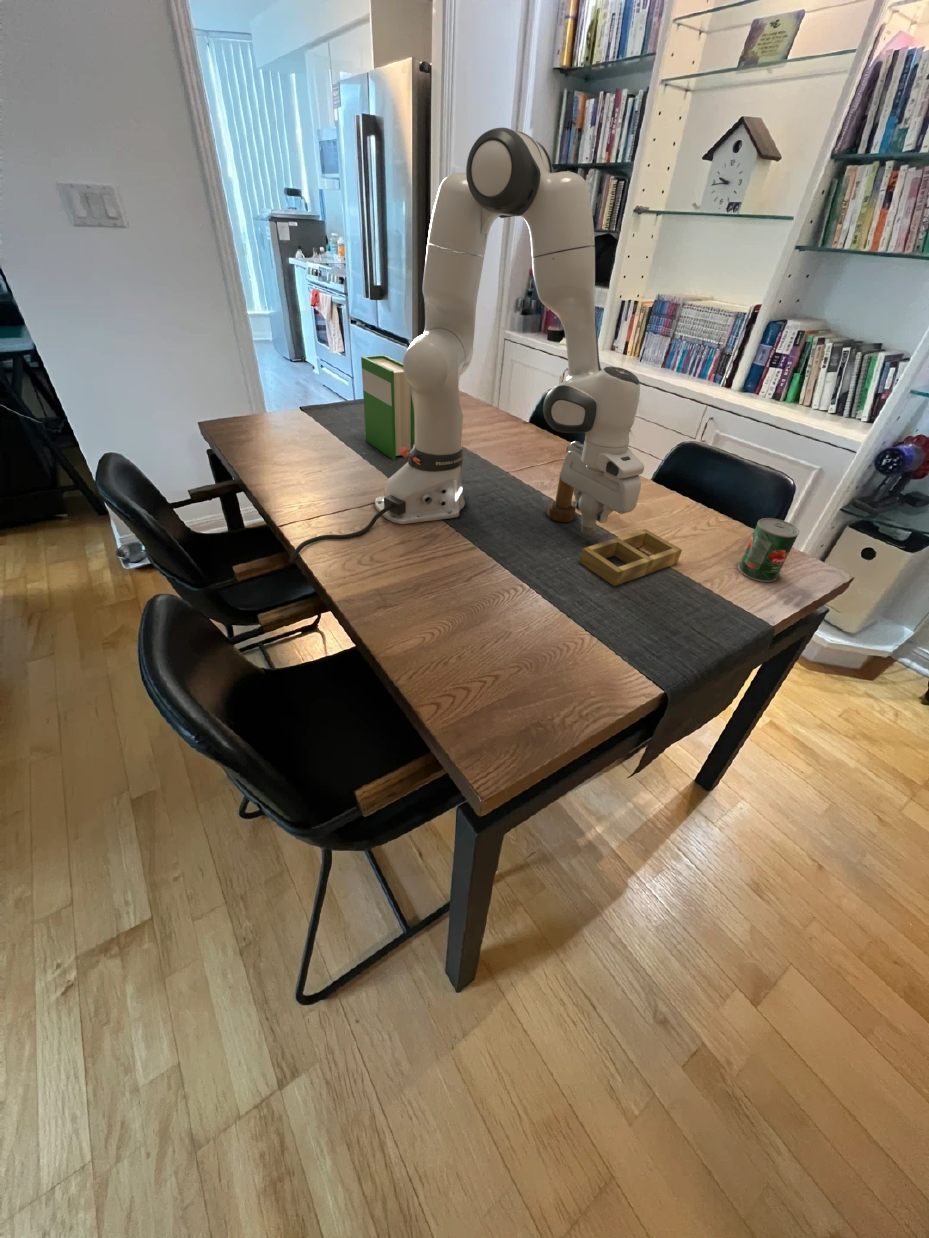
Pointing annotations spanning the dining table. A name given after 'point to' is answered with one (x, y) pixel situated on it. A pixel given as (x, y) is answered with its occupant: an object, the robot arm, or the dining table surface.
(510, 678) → the dining table surface
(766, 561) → the canned tomato
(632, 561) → the rack
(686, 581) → the dining table surface
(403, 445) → the hardback book
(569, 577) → the dining table surface
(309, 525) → the dining table surface
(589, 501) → the lightbulb
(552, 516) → the mortar and pestle
